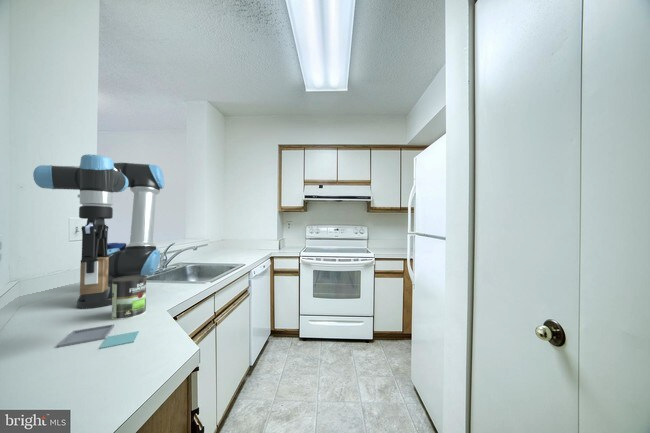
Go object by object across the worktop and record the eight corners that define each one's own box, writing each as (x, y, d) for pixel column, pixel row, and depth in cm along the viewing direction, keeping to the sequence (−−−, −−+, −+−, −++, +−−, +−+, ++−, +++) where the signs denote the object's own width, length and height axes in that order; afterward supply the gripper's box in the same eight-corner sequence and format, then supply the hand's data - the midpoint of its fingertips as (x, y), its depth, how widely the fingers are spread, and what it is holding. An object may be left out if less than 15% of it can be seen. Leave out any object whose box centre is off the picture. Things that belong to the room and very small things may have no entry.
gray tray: (73, 334, 76) (73, 330, 76) (114, 327, 81) (114, 324, 81) (57, 348, 67) (57, 344, 67) (104, 340, 72) (104, 336, 72)
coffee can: (152, 311, 96) (153, 275, 96) (126, 321, 85) (127, 281, 86) (131, 309, 98) (132, 274, 98) (103, 319, 87) (104, 280, 88)
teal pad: (107, 338, 73) (107, 336, 73) (138, 332, 77) (138, 331, 77) (99, 350, 66) (99, 347, 67) (133, 343, 70) (133, 341, 70)
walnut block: (86, 290, 74) (87, 258, 75) (107, 288, 77) (108, 257, 77) (79, 294, 70) (80, 260, 70) (102, 292, 72) (103, 259, 73)
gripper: (91, 207, 81) (90, 277, 80) (65, 203, 65) (63, 290, 64) (120, 208, 84) (119, 275, 83) (102, 204, 68) (100, 287, 67)
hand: (94, 281), depth 74 cm, fingers closed on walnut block, 5 cm apart
